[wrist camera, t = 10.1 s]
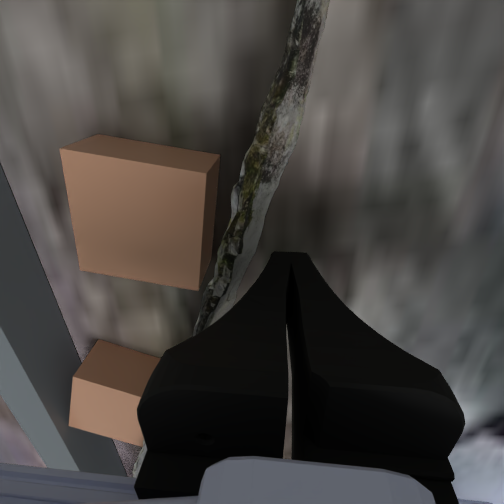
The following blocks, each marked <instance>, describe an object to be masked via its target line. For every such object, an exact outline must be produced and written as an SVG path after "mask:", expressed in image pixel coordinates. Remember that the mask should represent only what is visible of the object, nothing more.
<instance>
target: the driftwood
mask: <svg viewBox="0 0 504 504" xmlns="http://www.w3.org/2000/svg"><path fill="white" fill-rule="evenodd" d="M329 2H330V0H297V5H296V9H295V12H294V16H293V20H292V23H291V27H290V31H289V35H288V37H287V38H288V39H287V44H286V50H285V54H284V56H283V60H282V64H281V66H280V68H279V70H278V72H277V74H276V76H275V78H274V80H273V82H272V85H271V88H270V92H269V94H268V96H267V98H266V101H265V103H264V104H263V106H262V108H261V112H260V116H259V120H258V124H257V127H256V131H255V135H254V138H253V142H252V145H251V147H250V148H249V150H248V151H247V153H246V154H245V158H244V161H243V163H242V168H241V173H240V178H239V182H237V183H236V184H235V185H234V186H233V190H232V194H231V207H232V217H231V219H230V222H229V225H228V228H227V230H226V231H225V234H224V236H223V238H222V240H221V241H222V243H221V245H220V247H219V249H218V252H217V255H218V259H217V262H216V265H215V273H214V278H213V279H212V280H211V281H210V283H209V284H208V286H207V287H206V289H205V291H204V293H203V297H202V305H201V309H200V313H199V317H198V320H197V322H196V324H195V327H194V332H193V336H195V335H197V334H198V333H200V332H201V331H203V330H204V329H206V328H207V327H209V326H210V325H212V324H213V323H214V322H216V321H217V320H218V319H220V318H221V317H222V316H223V315H224V314H225V313H227V312H228V311H229V310H230V309H231V308H232V306H233V304H234V301H235V299H236V297H237V294H236V292H237V289H238V287H239V285H240V282H241V279H242V278H243V276H244V274H245V271H246V269H247V266H248V265H249V263H250V261H251V259H252V257H253V255H254V254H255V253H256V248H257V245H258V242H259V239H260V236H261V233H262V229H263V225H264V219H265V215H266V212H267V210H268V206H269V204H270V201H271V199H272V197H273V195H274V192H275V190H276V189H277V187H278V185H279V181H280V177H281V175H282V173H283V171H284V168H285V166H286V165H287V164H288V159H289V157H290V156H291V154H292V152H293V150H294V148H295V146H296V142H297V139H298V135H299V129H300V125H301V121H302V118H303V115H304V110H305V102H306V96H307V93H308V90H309V87H310V82H311V76H312V72H313V66H314V63H315V60H316V54H317V49H318V45H319V41H320V39H321V36H322V33H323V30H324V27H325V20H326V18H327V10H328V6H329ZM146 451H147V447H146V444H145V441H144V440H143V448H142V450H141V451H140V453H139V457H138V460H137V461H136V463H135V464H134V469H133V471H132V473H133V474H134V475H133V477H135V478H137V476H138V473H139V471H140V468H141V465H142V462H143V460H144V457H145V454H146Z"/></svg>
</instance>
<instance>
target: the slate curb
mask: <svg viewBox="0 0 504 504" xmlns="http://www.w3.org/2000/svg"><path fill="white" fill-rule="evenodd" d="M80 365H81V361H80V359H79V357H78V354H77V352H76V349H75V347H74V344H73V342H72V339H71V337H70V334H69V332H68V330H67V327H66V325H65V322H64V320H63V317H62V315H61V312H60V310H59V307H58V305H57V302H56V300H55V298H54V295H53V293H52V290H51V288H50V285H49V283H48V280H47V278H46V275H45V273H44V271H43V268H42V266H41V263H40V261H39V258H38V256H37V253H36V251H35V248H34V246H33V243H32V241H31V239H30V236H29V234H28V231H27V229H26V226H25V224H24V221H23V219H22V216H21V214H20V212H19V209H18V207H17V204H16V202H15V199H14V197H13V194H12V192H11V189H10V187H9V184H8V182H7V180H6V177H5V175H4V172H3V170H2V167H1V165H0V395H1V396H2V398H3V399H4V401H5V403H6V404H7V406H8V407H9V409H10V410H11V412H12V413H13V415H14V416H15V418H16V420H17V421H18V423H19V424H20V426H21V427H22V429H23V430H24V432H25V434H26V435H27V437H28V438H29V440H30V441H31V443H32V444H33V446H34V448H35V449H36V451H37V452H38V454H39V455H40V457H41V458H42V460H43V462H44V463H45V465H46V466H47V468H52V469H62V470H71V471H80V472H89V473H98V474H107V475H116V476H126V477H127V475H126V472H125V470H124V467H123V465H122V462H121V460H120V457H119V455H118V452H117V450H116V448H115V445H114V443H113V440H112V438H109V437H106V436H102V435H99V434H95V433H92V432H88V431H85V430H81V429H78V428H74V427H71V426H69V415H70V404H71V393H72V381H73V376H74V374H75V373H76V371H77V370H78V368H79V367H80Z"/></svg>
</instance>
